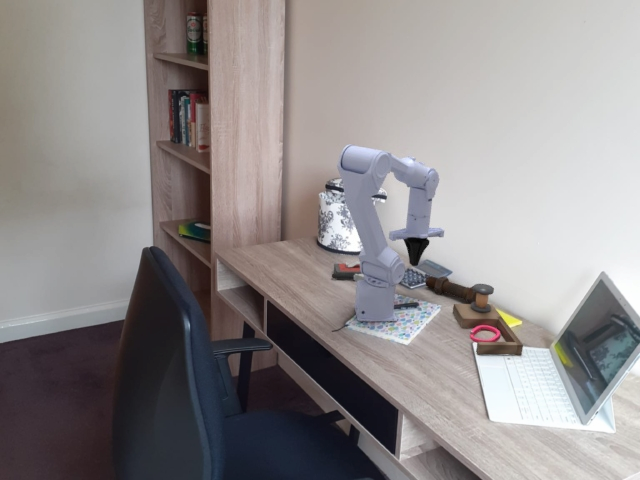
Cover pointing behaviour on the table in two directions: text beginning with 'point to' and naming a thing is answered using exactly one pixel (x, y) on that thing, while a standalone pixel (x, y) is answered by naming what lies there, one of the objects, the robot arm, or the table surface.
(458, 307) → the notched board
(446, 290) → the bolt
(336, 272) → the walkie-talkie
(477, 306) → the spool
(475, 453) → the table surface
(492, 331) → the fitness band
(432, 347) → the table surface
